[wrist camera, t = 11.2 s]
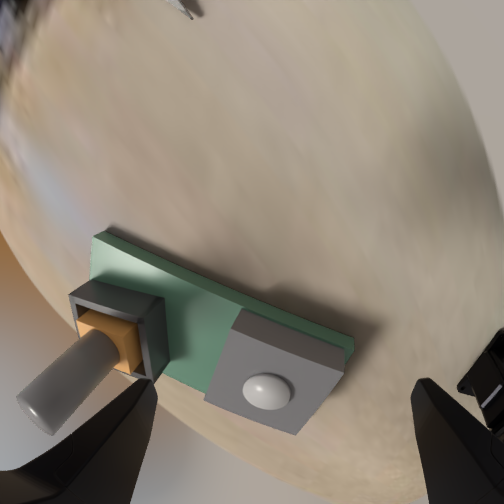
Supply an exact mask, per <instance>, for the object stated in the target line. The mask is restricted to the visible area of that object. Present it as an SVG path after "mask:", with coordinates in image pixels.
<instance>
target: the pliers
mask: <svg viewBox="0 0 504 504" xmlns="http://www.w3.org/2000/svg"><path fill="white" fill-rule="evenodd" d="M166 1H167V2H169V3H170V4H171V5H173V6H174V7H176V8H177V9H178V10H180V11H181V12H182V13H184V14H185V15H186V16H187V17H189V18H190V19H191V20H193V17H192V16H191V14H190V13H189V11H188V10H187V9H186V7H185V6H184V4H183V3H182V1H181V0H166Z"/></svg>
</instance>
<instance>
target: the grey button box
mask: <svg viewBox="0 0 504 504" xmlns="http://www.w3.org/2000/svg"><path fill="white" fill-rule="evenodd" d="M343 374H344V349H342V348H339V347H337V346H334V345H331V344H329V343H326V342H324V341H321V340H318V339H316V338H313V337H311V336H308V335H305V334H303V333H300V332H298V331H295V330H293V329H290V328H288V327H285V326H283V325H280V324H278V323H275V322H273V321H270V320H268V319H266V318H263V317H261V316H258V315H256V314H254V313H251V312H249V311H246V310H244V309H242V308H241V310H240V312H239V314H238V316H237V318H236V319H235V321H234V323H233V325H232V327H231V329H230V331H229V334H228V337H227V339H226V342H225V345H224V347H223V350H222V353H221V355H220V358H219V360H218V363H217V366H216V368H215V371H214V374H213V376H212V379H211V382H210V384H209V387H208V390H207V392H206V395H205V397H204V401H206V402H209V403H211V404H213V405H216V406H218V407H220V408H223V409H225V410H227V411H230V412H232V413H235V414H237V415H240V416H242V417H245V418H247V419H250V420H253V421H255V422H258V423H261V424H263V425H266V426H269V427H272V428H275V429H278V430H281V431H284V432H287V433H290V434H293V435H296V434H297V433H298V432H299V431H300V430H301V429H302V427H303V426H304V425H305V424H306V423H307V421H308V420H309V419H310V418H311V416H312V415H313V414H314V413H315V411H316V410H317V409H318V408H319V406H320V405H321V404H322V402H323V401H324V400H325V399H326V397H327V396H328V395H329V393H330V392H331V391H332V389H333V388H334V387H335V385H336V384H337V382H338V381H339V380H340V378H341V377H342V376H343Z"/></svg>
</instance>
